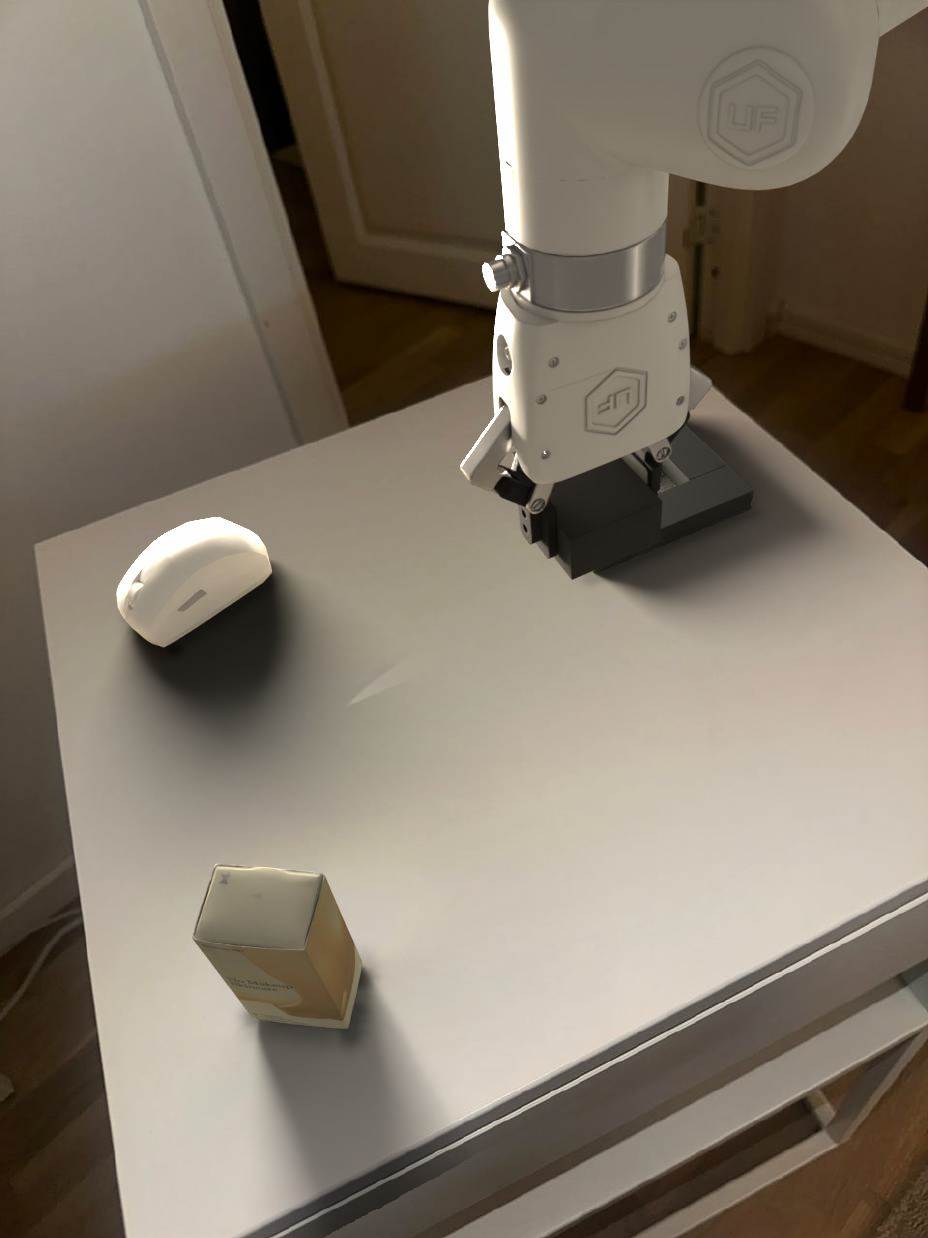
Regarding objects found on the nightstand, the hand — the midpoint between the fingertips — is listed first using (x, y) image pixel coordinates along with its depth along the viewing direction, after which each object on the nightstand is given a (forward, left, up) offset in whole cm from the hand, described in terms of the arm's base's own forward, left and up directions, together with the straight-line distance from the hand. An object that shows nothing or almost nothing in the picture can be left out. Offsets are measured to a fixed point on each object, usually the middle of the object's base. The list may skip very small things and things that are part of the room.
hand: (590, 520), depth 60 cm
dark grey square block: (0, 0, -1) cm, 1 cm away
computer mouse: (+25, -23, -16) cm, 37 cm away
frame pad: (-12, -16, -16) cm, 26 cm away
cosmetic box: (+27, +13, -16) cm, 33 cm away
